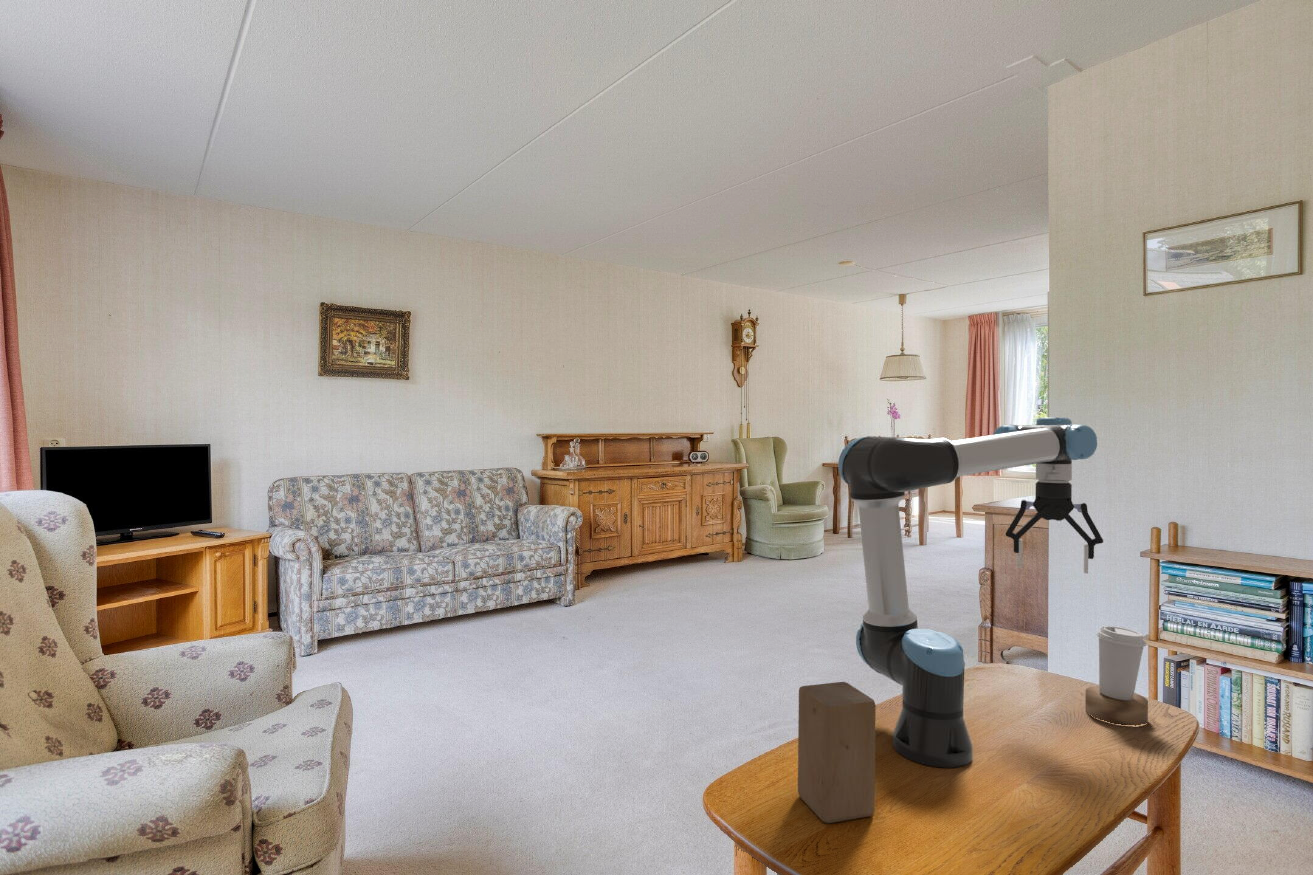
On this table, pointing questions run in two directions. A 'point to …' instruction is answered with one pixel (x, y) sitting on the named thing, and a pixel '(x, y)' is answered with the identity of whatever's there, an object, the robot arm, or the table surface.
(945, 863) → the table surface
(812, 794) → the wooden block
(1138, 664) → the coffee cup
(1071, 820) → the table surface
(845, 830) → the table surface
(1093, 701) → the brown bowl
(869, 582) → the robot arm
